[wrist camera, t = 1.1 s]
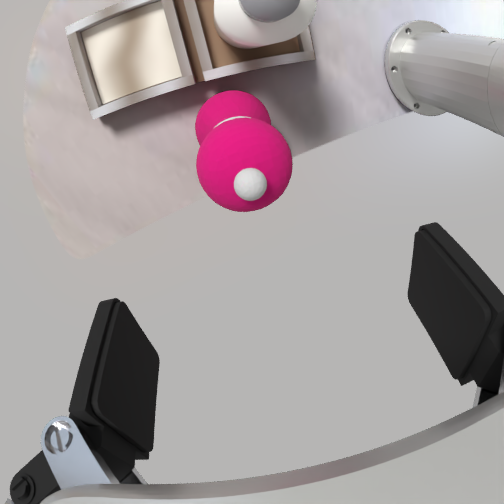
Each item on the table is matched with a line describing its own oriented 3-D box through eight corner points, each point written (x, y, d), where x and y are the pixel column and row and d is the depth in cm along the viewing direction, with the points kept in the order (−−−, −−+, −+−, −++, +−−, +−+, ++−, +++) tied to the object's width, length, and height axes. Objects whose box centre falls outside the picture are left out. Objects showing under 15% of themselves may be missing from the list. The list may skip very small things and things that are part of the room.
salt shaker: (272, -14, 23) (311, -54, 12) (286, 42, 27) (333, 35, 16) (206, -2, 24) (203, -41, 12) (221, 55, 27) (228, 51, 16)
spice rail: (290, -31, 23) (297, -38, 21) (311, 58, 30) (320, 59, 27) (72, 31, 24) (60, 30, 22) (98, 116, 30) (88, 121, 28)
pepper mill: (269, 141, 35) (326, 232, 18) (206, 156, 35) (204, 262, 19) (256, 80, 31) (310, 108, 14) (189, 96, 31) (162, 144, 14)
